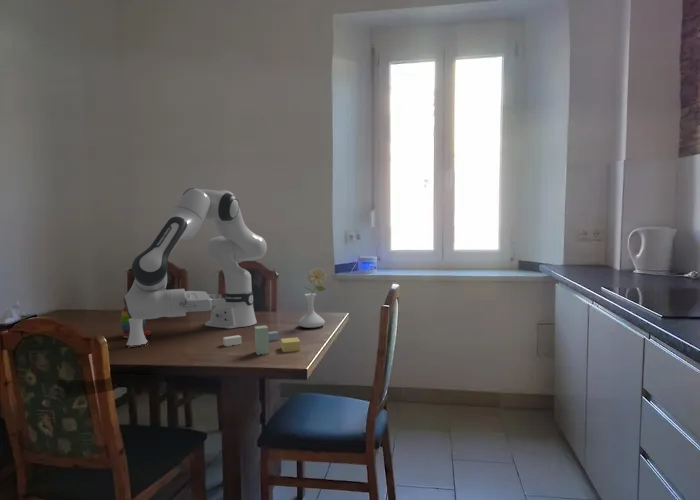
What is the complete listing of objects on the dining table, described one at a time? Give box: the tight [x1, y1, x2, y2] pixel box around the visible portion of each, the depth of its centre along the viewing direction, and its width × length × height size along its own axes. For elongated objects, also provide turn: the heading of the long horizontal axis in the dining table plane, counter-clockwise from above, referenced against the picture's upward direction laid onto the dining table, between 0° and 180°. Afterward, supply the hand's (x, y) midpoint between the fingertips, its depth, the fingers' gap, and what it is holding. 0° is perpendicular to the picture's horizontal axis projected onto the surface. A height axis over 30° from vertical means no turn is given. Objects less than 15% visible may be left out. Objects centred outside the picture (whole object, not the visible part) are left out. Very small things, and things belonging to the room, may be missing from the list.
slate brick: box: [268, 330, 280, 342], centre depth 186 cm, size 6×3×3 cm, turn 115°
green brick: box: [254, 325, 270, 356], centre depth 169 cm, size 4×4×9 cm
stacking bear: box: [120, 291, 152, 336], centre depth 199 cm, size 11×10×18 cm
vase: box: [125, 318, 149, 346], centre depth 184 cm, size 8×8×10 cm
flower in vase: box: [297, 267, 328, 329], centre depth 206 cm, size 13×11×25 cm
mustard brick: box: [280, 337, 301, 353], centre depth 173 cm, size 6×6×4 cm
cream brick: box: [222, 334, 243, 347], centre depth 181 cm, size 6×3×3 cm, turn 120°
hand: (223, 299), depth 163 cm, fingers open, 8 cm apart
